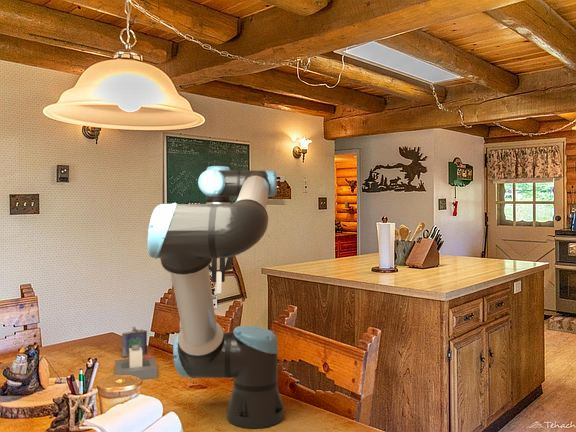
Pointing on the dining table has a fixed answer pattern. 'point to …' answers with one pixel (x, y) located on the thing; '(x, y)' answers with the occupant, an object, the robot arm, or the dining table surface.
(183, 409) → the dining table surface
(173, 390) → the dining table surface
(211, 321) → the robot arm
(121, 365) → the socket
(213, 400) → the dining table surface
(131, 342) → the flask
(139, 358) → the cream rectangular container
